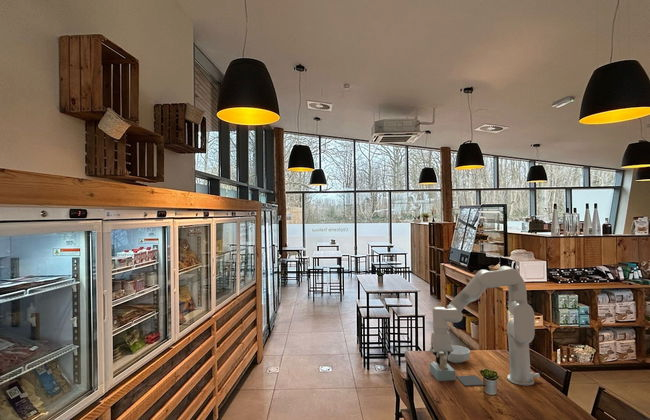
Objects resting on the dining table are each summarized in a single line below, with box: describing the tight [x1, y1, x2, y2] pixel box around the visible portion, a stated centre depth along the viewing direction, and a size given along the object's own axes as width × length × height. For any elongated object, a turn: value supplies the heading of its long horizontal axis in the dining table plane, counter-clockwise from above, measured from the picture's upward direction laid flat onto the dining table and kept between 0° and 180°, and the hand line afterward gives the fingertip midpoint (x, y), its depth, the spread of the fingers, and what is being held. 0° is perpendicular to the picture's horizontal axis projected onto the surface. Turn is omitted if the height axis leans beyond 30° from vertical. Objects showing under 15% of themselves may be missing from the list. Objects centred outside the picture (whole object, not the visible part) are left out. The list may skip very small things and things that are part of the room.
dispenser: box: [429, 361, 456, 382], centre depth 194 cm, size 9×12×6 cm
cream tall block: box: [437, 352, 448, 370], centre depth 194 cm, size 3×6×12 cm, turn 3°
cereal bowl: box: [442, 344, 471, 364], centre depth 214 cm, size 17×17×7 cm
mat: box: [455, 374, 484, 387], centre depth 186 cm, size 11×11×1 cm
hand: (441, 363), depth 194 cm, fingers closed on cream tall block, 3 cm apart
